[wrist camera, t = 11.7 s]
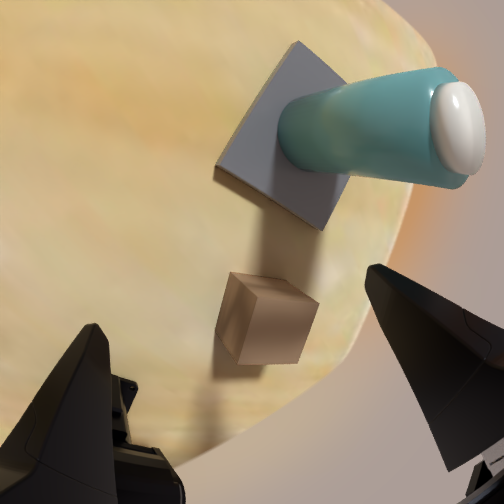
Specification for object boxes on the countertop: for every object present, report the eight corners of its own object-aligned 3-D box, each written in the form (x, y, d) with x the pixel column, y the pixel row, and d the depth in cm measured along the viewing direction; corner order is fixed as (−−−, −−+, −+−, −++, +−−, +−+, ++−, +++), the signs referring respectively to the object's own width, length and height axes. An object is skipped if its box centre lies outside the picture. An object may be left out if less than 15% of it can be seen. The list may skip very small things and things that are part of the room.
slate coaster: (315, 228, 25) (322, 231, 24) (215, 165, 20) (219, 165, 19) (370, 116, 25) (378, 116, 24) (291, 44, 20) (298, 40, 19)
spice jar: (304, 187, 22) (460, 218, 11) (262, 119, 20) (422, 89, 8) (352, 146, 23) (497, 155, 12) (318, 83, 21) (467, 52, 9)
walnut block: (267, 333, 26) (297, 363, 22) (214, 329, 24) (237, 364, 19) (284, 279, 25) (319, 303, 21) (229, 271, 23) (257, 297, 19)
